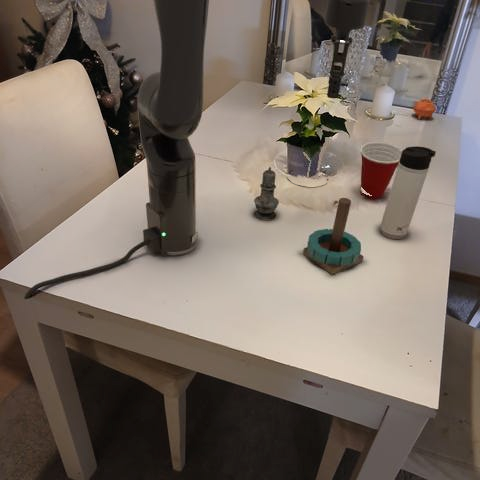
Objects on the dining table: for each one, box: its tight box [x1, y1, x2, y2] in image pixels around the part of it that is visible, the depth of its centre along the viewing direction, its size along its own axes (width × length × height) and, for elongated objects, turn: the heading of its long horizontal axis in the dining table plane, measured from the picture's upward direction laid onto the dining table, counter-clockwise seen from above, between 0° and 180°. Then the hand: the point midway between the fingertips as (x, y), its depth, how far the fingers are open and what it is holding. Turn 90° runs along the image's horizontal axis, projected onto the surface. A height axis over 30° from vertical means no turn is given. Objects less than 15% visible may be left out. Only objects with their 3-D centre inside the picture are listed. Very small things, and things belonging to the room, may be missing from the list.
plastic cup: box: [359, 141, 403, 200], centre depth 122 cm, size 11×11×12 cm
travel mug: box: [379, 146, 437, 240], centre depth 105 cm, size 6×7×20 cm
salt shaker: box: [253, 166, 280, 221], centre depth 111 cm, size 6×6×12 cm
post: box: [302, 197, 364, 276], centre depth 98 cm, size 9×9×14 cm
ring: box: [306, 228, 362, 266], centre depth 101 cm, size 11×11×2 cm
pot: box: [412, 98, 437, 120], centre depth 173 cm, size 8×8×7 cm
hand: (332, 91), depth 97 cm, fingers open, 8 cm apart
